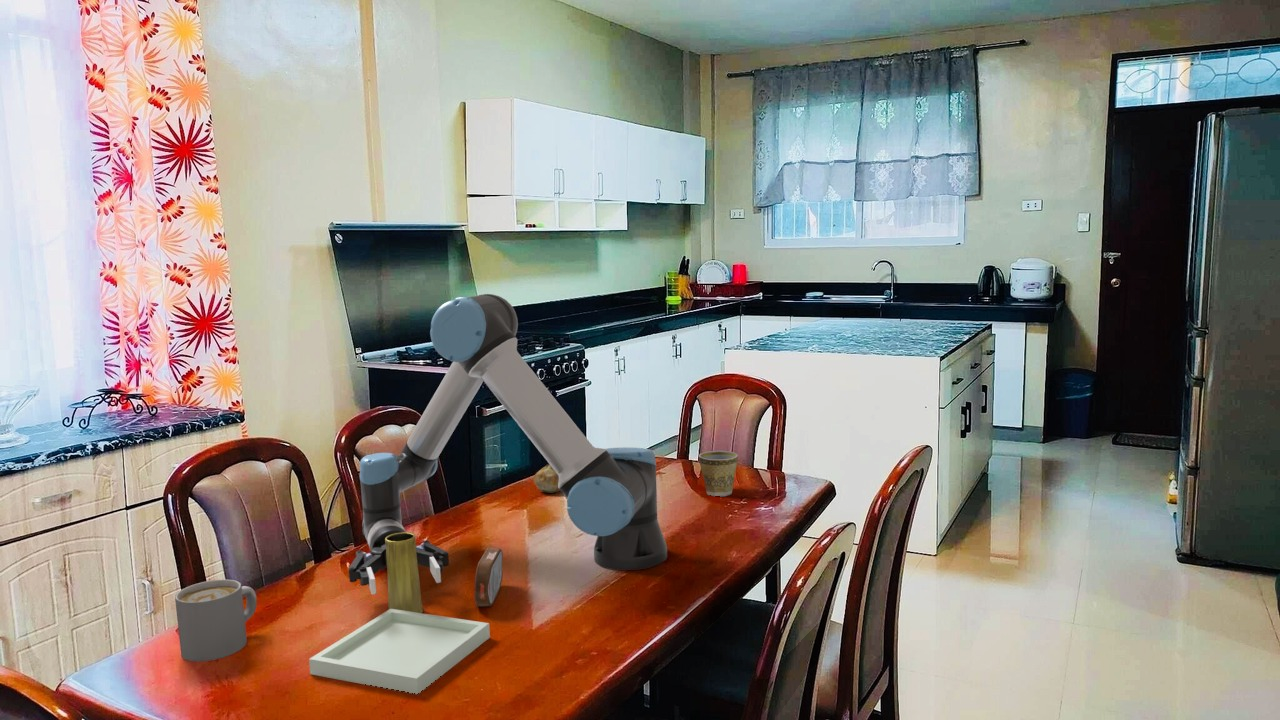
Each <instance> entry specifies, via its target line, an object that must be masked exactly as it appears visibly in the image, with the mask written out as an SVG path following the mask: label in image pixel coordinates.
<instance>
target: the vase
mask: <svg viewBox="0 0 1280 720" xmlns="http://www.w3.org/2000/svg"><path fill="white" fill-rule="evenodd" d="M416 542H417V541H416V534H415V533H413V532H409V531H408V532H402V533H395V534H391V535H389V536H387V537H386V538H385V543H386V559H387V567H386V569H387V570H386V572H387V593H388V594H387V595H388V596H387V599H388V610H389V609H396V610H403V611H410V612H417V613H423V612H424V607H423V603H422V593H421V583H420V576H419V574H420V573H419V565H418V563H417V554H416V546H417V543H416Z"/></svg>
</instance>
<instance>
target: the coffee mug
mask: <svg viewBox="0 0 1280 720" xmlns="http://www.w3.org/2000/svg"><path fill="white" fill-rule="evenodd" d="M243 597H245V600H246V605H245V606H244V599H243ZM174 600H175V601H174V603H175V610H176V611H175V612H176V619H177V630H178V631H177V632H178V638H179V647H180V655H181V657H182V659H184V660H186V661H189V662H198V663H199V662H200V663H201V662H209V661H216V660H220V659H223V658H226V657H229V656H231V655H234V654H236V653H237V652H239V651H241V650H242V649H243V648H245V646H247V643H248V640H247V631H246V630H247V628H246V622H247V621H249V619H251V618H252V616H253V615H254V614H255V612H256V610H257V603H258V602H257V601H258V600H257V594H256V592H255V590H254V589H253V588H252V587H250V586H246V585H243V586H242V584H241V582H239V581H237V580H234V579H224V578H223V579H214V580H213V579H212V580H207V581H201V582H199V583H195V584H192V585H188V586H186V587H185V588H182V589H181V590H179V591H178V592H177V593H176V594H175V597H174ZM244 607H245V609H244Z"/></svg>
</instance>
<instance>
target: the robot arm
mask: <svg viewBox="0 0 1280 720" xmlns="http://www.w3.org/2000/svg"><path fill="white" fill-rule="evenodd" d="M518 320H519V319H518V316H517V313H516V311H515V308H514V307H513V305H511V303H510V302H509V301H507V299H505V298H503V297H502V296H500V295H496V294H494V293H493V294H491V293H483V294H480V295H479V294H478V295H474V296H468V297H467V296H461V297H456V298H453V299H452V300H448V301H447V302H444V303H443V304H441V305H440V306H439V307H438V308H437V310H435V313H434V314H433V316H432V318H431V322H430V331H429V335H430V339H431V343H432V345H433V347H434V349H435V351H436V353H438V354H439V355H440V357H443V358H444V359H446V360H447V361H450V362H451V364H450V366H449V368H448V370H447V372H446V373H445V375H444V377H443V379H442V380H441V382H440V384H439V386H438V387H437V389H436V391H435V392H434V394H433V395H432V397H431V399H430V401H429V403H428V404H427V406H426V408H425V410H424V411H423V413H422V415H421V416H420V419H419V420H418V422H417V423H416V425H415V426H414V429H413V431H412V432H411V434H410V435H409V437H408V439H407V441H406V442H405V444H404V446H403V448H402V449H401V451H400V452H399V454H397V455H395V454H394V453H391V452H378V453H377V452H375V453H373V454H367V455H364V456H363V457H362V458H361V459H360V461H359V481H360V482H359V483H360V492H361V503H362V517H363V520H362V525H361V526H362V534H363V536H364V537H365V539H366V542H367V544H368V548H369V551H370V552H368V553H367V552H365V551H363V550H356V551H355V556H356V557H355V558H354V559H353V561H352V562H351V564H350V565H349V567H348V580H349V583H356V582H357V581H358V580H360V581H359V582H360V586H362V587H364V586H368V587H369V591H370V593H371V595H375V594H376V595H377V587H376V578H375V574H377V573H378V572H379V571H380V570H381V571H383V570H385V569H387V559H386V543H385V538H386V537H387V536H389V535H391V534H395V533H402V532H406V529H405V528H404V526H403V524H402V511H401V509H402V508H401V494H402V492H404V491H406V490H408V489H411V488H412V487H414V486H417V485H418V484H421V483H424V482H426V481H427V480H428V479H429V478H430V477H432V476H433V475H435V473H436V471H437V470H438V467H439V465H438V464H439V463H438V462H439V459H438V458H439V456H440V454H441V453H442V451H443V450H444V448H445V446H446V445H447V443H448V441H449V440H450V438H451V436H452V435H453V432H454V431H455V430H456V428H457V426H458V425H459V423H460V421H461V419H462V418H463V416H464V414H465V413H466V411H467V409H468V407H469V406H470V404H471V403H472V401H473V399H474V397H475V396H476V394H477V393H478V391H479V389H480V387H481V386H482V384H483V382H484V384H485V385H486V386H487V387H488V388H489V391H491V392H492V394H493V395H494V397H496V399H497V400H498V402H500V403H501V405H502V406H503V408H505V410H506V411H507V412H508V414H509V415H510V416H511V417H512V419H513V420H514V421H515V423H516V424H517V425H518V427H519V428H520V429H521V430H522V431H523V433H524V434H525V435H526V436H527V438H528V439H529V440H530V441H531V443H532V444H533V445H534V446H535V448H536V449H537V450H538V452H539V453H540V454H541V455H542V456H543V458H544V459H545V461H547V463H548V465H551V467H552V468H553V469H554V470H555V472H556V473H557V474H558V476H559V482H558V488H559V491H560V492H561V494H563V496H564V497H565V498H566V506H567V507H566V510H567V513H568V516H569V519H570V521H571V522H572V523H573V525H574V526H575V527H576V528H577V529H579V530H580V531H581V532H583V533H585V534H587V535H589V536H594V537H596V539H595V543H594V546H593V560H594V562H595V563H596V564H597V565H599V566H601V567H603V568H605V569H611V570H616V571H617V570H619V571H635V570H636V571H637V570H643V569H644V570H645V569H649V568H652V567H653V568H654V567H655V566H658V565H660V564H662V563H664V562H666V560H667V558H668V547H667V542H666V540H665V537H664V534H663V531H662V530H661V527H660V524H659V520H658V496H657V495H658V494H657V462H656V455H655V453H654V451H653V450H651V449H649V448H645V447H644V448H643V447H610V448H599V447H595V446H594V445H593V444H592V443H591V442H590V441H589V439H588V438H587V437H586V436H585V434H584V432H582V431H581V429H580V428H579V427H578V426H577V424H576V423H575V422H574V421H573V419H572V418H571V417H570V415H569V414H568V413H567V412H566V411H565V409H564V407H562V405H560V403H559V402H558V401H557V399H556V398H555V397H554V396H553V395H552V393H551V392H550V390H549V389H548V388H547V387H546V385H545V384H544V383H543V382H542V381H541V379H539V376H537V374H536V373H535V372H534V371H533V369H532V368H531V367H530V366H529V365H528V363H527V361H525V359H524V358H523V357H522V356H521V355H520V353H519V351H518V350H517V349H518V338H517V337H516V335H517V332H518V327H519V322H518ZM416 554H417V563H418V566H421V567H426V568H429V570H430V573H431V575H432V577H433V578H434V581H435V583H436V584H439V583H442V578H441V577H442V575H441V573H443V572H444V567H449V566H450V559H449V558H450V557H449V551H446V550H444V549H443V548H441V547H438V546H436V545H434V544H432V543H431V542H430V540H426V539H425V540H423V541H422V543H421V544H420V545H416Z"/></svg>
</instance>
